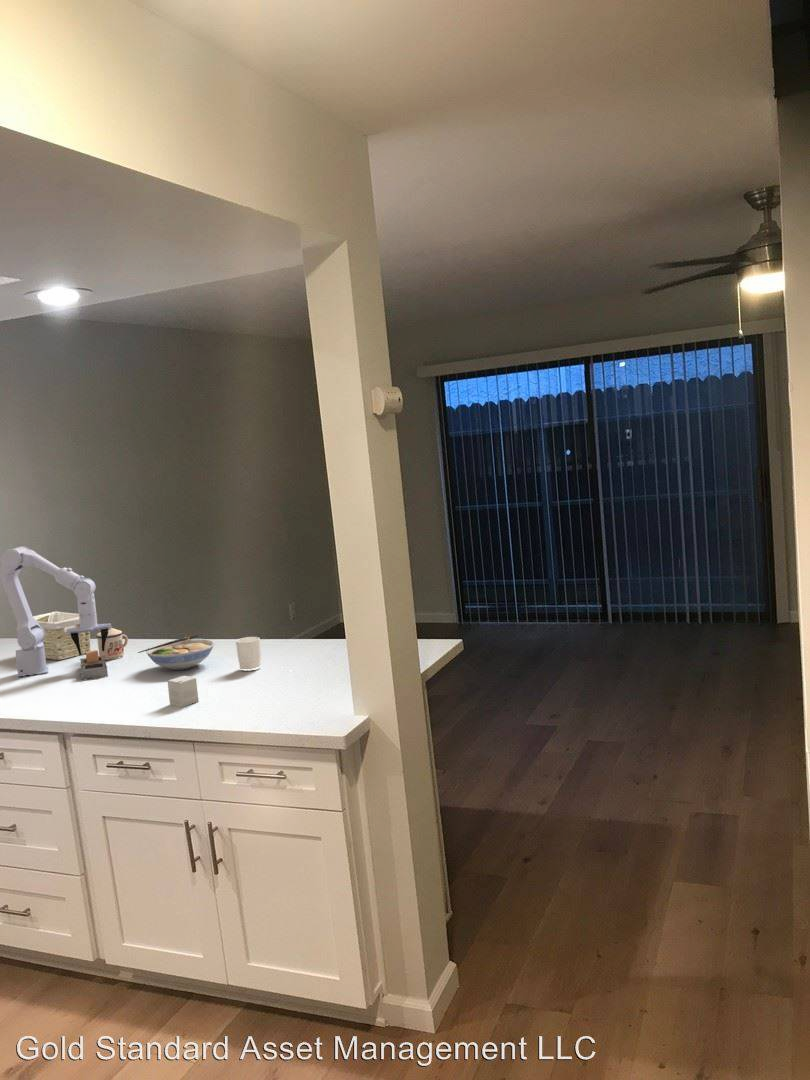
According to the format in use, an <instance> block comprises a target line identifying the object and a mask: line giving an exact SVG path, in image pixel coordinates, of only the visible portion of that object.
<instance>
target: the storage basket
mask: <svg viewBox="0 0 810 1080" xmlns="http://www.w3.org/2000/svg"><path fill="white" fill-rule="evenodd" d="M32 616H33V615H32ZM33 618H34V619H35V620H36V621H38V623H39V625H40V627H41V628H42V629H43V630H44V631H45V639H44V641H43V644H44V651H45V659H46V660H55V661H59V660H60V661H61V660H62V661H63V660H65V659H70V658H73V657H79V656H80V655H81V656H82V655H84V654H86V652H87V651H91V632H85V633H78V636H79V644H80V649H81V654H80V655H79V652H78V649H77V647H76V645H75V643H74V641H73V639H72V638H71V635H67V629H69V628H75V627H80V621H79V613H74V612H73V613H72V612H63V611H52V612H48V613H41V614H38V615H34V616H33Z"/></svg>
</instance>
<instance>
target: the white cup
mask: <svg viewBox="0 0 810 1080" xmlns="http://www.w3.org/2000/svg"><path fill="white" fill-rule="evenodd" d="M235 646H236V647H235V648H236V653H237V660H238V664H239V670H240V669H252V668H256V667H259V666H260V665H261V660H262V659H261V657H262V656H261V655H262V654H261V638H260V637H258V636H246V637H241V638H237V639H235Z"/></svg>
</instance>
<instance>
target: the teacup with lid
mask: <svg viewBox="0 0 810 1080" xmlns="http://www.w3.org/2000/svg"><path fill="white" fill-rule="evenodd" d="M123 633H124V632H123V631H122V630H120V629H116V628H114V627H112V626H111V630H108V635H107V638H106V642H105V648H104V651H102V639H101V631H99V632H98V633H97V634H96V638H97V647H98V656H105V661H109V660H110V659H113V660H116V659H115V658H118V659H120V658H119V657H121V656H123V655H124V656H125V652H124V650H125V649H124V648H125V647H126V646H127V645H128V642H129V638H128V636H127V635H126V634H123ZM123 637H124V641H123ZM124 656H123V657H124ZM121 658H122V657H121ZM110 661H111V660H110Z"/></svg>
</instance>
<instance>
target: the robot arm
mask: <svg viewBox="0 0 810 1080" xmlns="http://www.w3.org/2000/svg"><path fill="white" fill-rule="evenodd" d="M0 562H1V563H0V581H1V583H2V586H3V589H4V592H5V594H6V597H7V599H8V602H9V604H10V607H11V610H12V613H13V615H14V618H15V620H16V623H17V627H16V630H15V631H16V634H17V638H16V639H17V644H18V646H19V647H20V649H17V650H15V657H16V661H15V662H16V672H17V675H18V676H23V677H26V676H25V675H30V676H34V675H33V674H37V675H43V674H47V673H49V666H47V661H46V660H47V659H45V651H44V644H43V641H44V639H45V631H44V630H43V629H42V628H41V627H40V625H39V623H38V621H36V620H35V619H34V618H33V614H32V611H31V608H30V605H29V602H28V600H27V597H26V595H25V592H24V589H23V587H22V584H21V582H20V578H19V576H18V575H19V574H20V572H21V571H22V569H23V568H24V567H35V568H37V569H39V570H41V571H43V572H45V573H47V574H48V575H51V576H53V577H54V579H55V581H56V583H58V584H60V585H61V586H63V587H65V588H66V589H68V590H70V591H73V593H74V595H75V596H76V597H77V609H78V610H77V611H78V614H79V621H80V627H75V628H69V629H67V635H71V638H72V639H73V641H74V643H75V645H76V647H77V649H78V652H79V655H78V656H80V654H81V649H80V644H79V636H78V633H85V632H90V633H91V632H92V633H93V632H101V639H102V651H104V648H105V642H106V638H107V635H108V630H111V627H112V624H111V622H110V623H98V617H97V616H98V615H97V609H96V607H97V606H96V599H95V591H96V589H97V586H96V583H95V581H94V580H93V579H91V578H89V577H85V576H84V575H80V574H78V573H76V572H74V571H73V568H71V567H68V568H67V567H62V568H61V567H59V566H57V565H56V564H54V563H53V562H51V561H49V560H48V559H46V558H45V557H43V556H42V555H40V554H38V553H37V552H36V551H35V550H32V549H29V548H28V547H27V546H24V545H23V546H22V545H20V546H18V547H14V548H10V549H7V550H6V551H5V552H4V553H3V555H2V556H1V557H0ZM42 673H43V674H42ZM18 676H17V677H18Z"/></svg>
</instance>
